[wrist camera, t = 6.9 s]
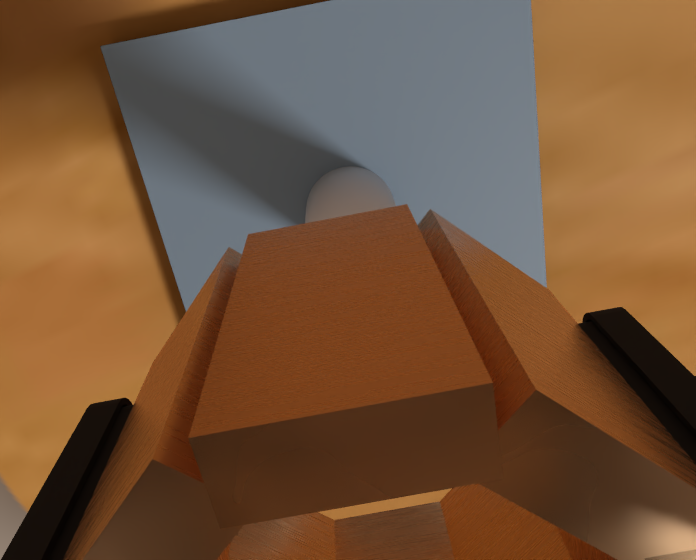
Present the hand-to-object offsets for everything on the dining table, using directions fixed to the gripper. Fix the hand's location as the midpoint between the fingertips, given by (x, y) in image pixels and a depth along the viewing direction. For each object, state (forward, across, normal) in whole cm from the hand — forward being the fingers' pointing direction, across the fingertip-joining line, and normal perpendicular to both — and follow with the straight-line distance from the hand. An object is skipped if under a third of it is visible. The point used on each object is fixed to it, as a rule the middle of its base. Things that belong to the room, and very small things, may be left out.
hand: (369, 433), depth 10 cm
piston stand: (+13, 0, 0) cm, 13 cm away
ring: (+1, 0, 0) cm, 1 cm away
